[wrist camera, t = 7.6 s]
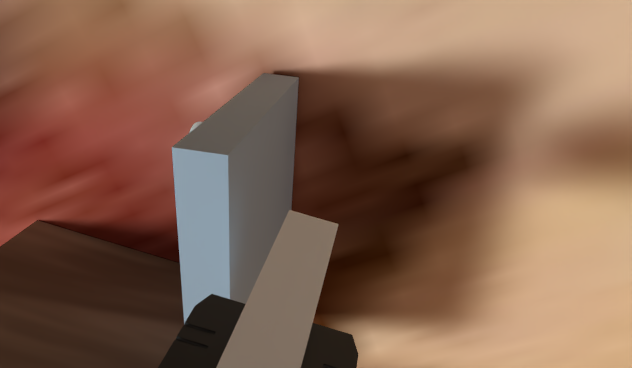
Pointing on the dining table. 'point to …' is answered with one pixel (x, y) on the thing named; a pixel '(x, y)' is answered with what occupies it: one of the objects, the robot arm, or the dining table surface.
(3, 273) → the notched wooden plank
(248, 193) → the door
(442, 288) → the dining table surface
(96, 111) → the dining table surface
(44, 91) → the dining table surface
